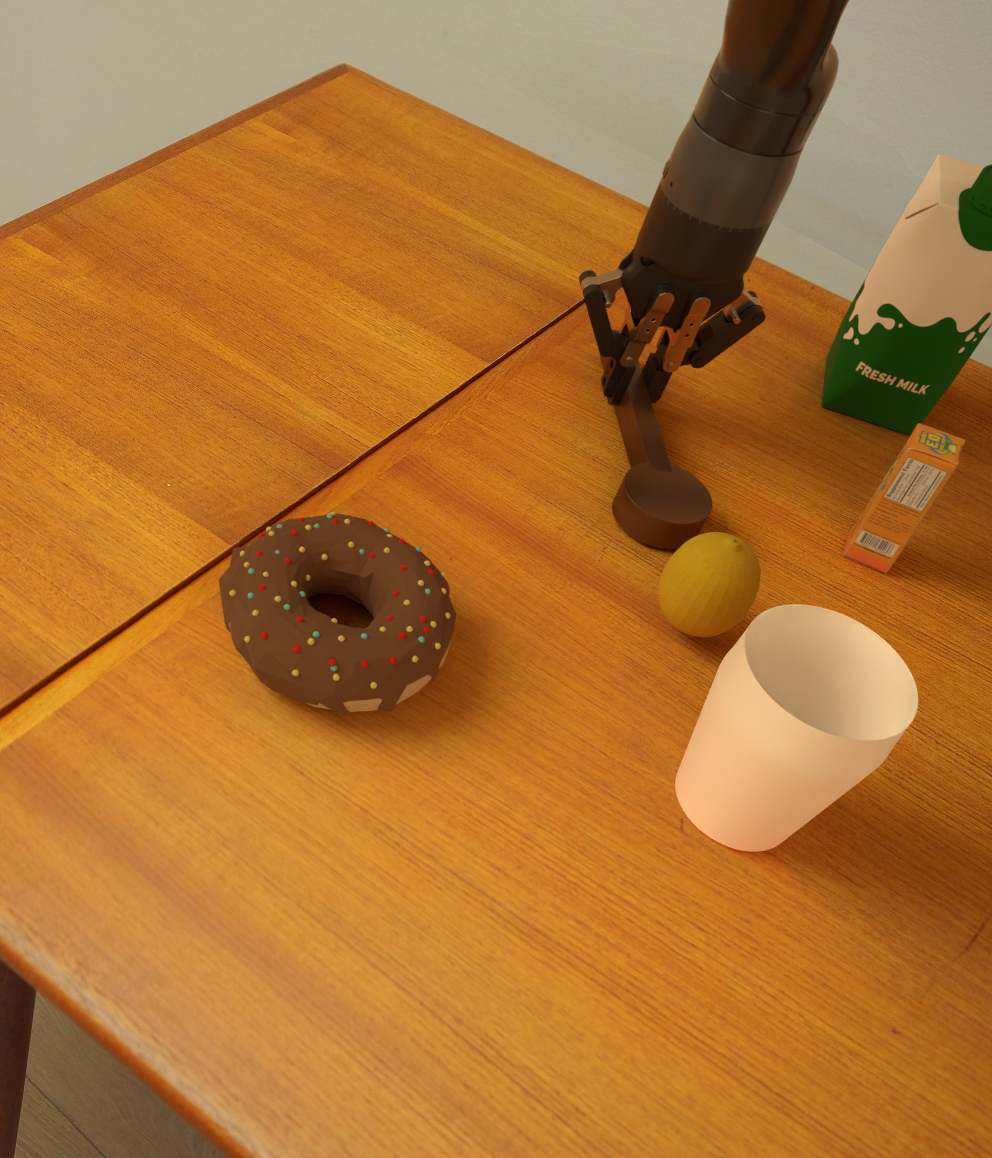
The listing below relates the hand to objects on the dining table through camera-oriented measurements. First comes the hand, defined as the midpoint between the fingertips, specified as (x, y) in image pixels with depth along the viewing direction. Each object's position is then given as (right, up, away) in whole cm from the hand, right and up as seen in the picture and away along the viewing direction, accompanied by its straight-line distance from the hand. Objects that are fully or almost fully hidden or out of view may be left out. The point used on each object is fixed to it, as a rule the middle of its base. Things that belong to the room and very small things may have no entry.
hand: (626, 399), depth 97 cm
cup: (-1, -26, -23) cm, 35 cm away
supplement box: (+14, -12, -7) cm, 20 cm away
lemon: (-1, -17, -14) cm, 22 cm away
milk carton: (+21, +1, +6) cm, 21 cm away
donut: (-24, -17, -19) cm, 35 cm away
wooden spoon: (0, -4, -3) cm, 5 cm away
